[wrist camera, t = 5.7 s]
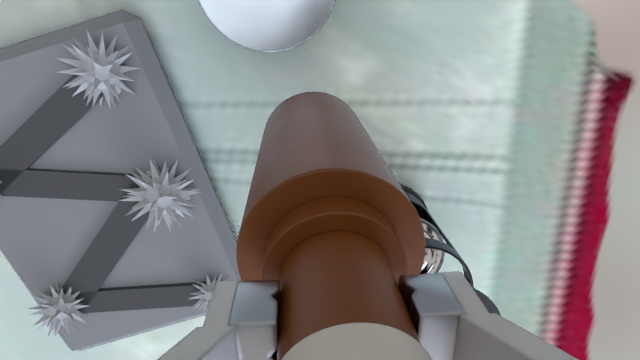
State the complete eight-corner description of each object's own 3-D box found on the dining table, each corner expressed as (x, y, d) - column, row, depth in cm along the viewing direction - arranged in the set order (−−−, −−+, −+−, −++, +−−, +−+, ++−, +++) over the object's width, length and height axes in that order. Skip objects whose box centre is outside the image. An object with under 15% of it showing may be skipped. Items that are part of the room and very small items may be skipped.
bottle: (364, 90, 22) (563, 302, 6) (360, 185, 24) (501, 537, 8) (260, 92, 22) (166, 320, 6) (266, 188, 24) (209, 560, 8)
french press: (318, 211, 42) (347, 412, 21) (395, 159, 40) (515, 319, 19) (378, 286, 46) (455, 521, 24) (450, 242, 44) (600, 450, 23)
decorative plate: (-98, 82, 35) (-189, 97, 28) (140, 6, 34) (105, 3, 27) (78, 343, 46) (43, 398, 39) (261, 290, 45) (256, 337, 38)
